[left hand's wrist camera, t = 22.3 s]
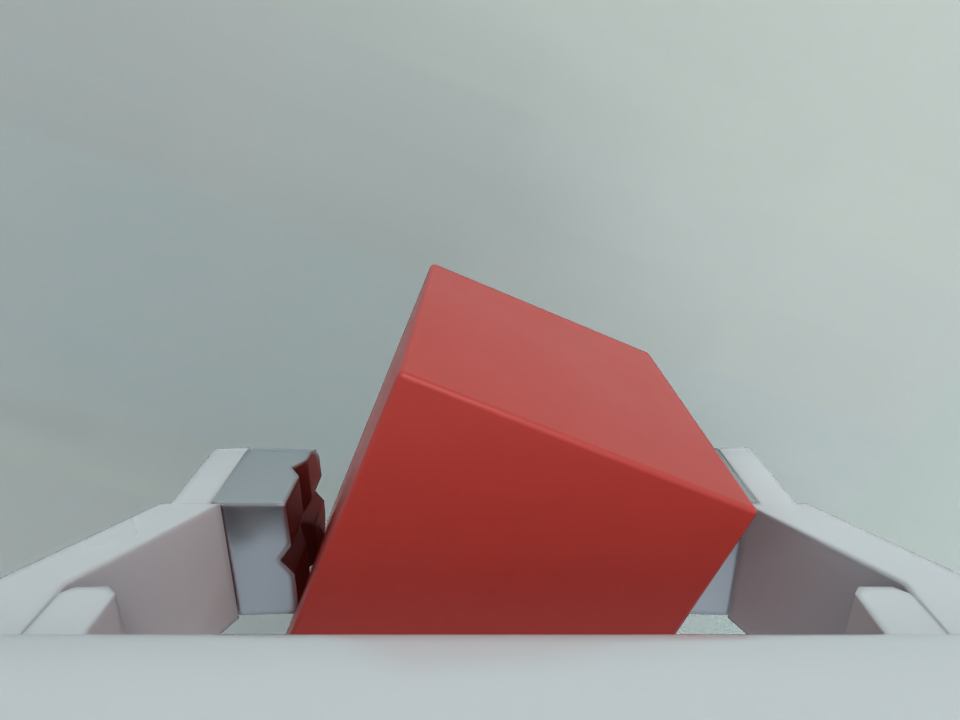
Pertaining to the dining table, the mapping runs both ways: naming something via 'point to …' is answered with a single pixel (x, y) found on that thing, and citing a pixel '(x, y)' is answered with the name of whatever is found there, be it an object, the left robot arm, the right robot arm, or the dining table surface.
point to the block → (521, 485)
